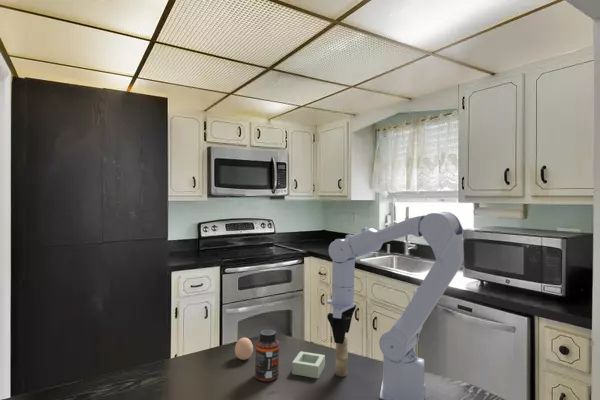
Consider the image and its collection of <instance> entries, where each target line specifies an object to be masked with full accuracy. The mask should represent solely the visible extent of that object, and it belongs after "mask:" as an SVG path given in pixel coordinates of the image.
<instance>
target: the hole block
mask: <svg viewBox="0 0 600 400" xmlns="http://www.w3.org/2000/svg"><path fill="white" fill-rule="evenodd" d="M291 363H292V364H291V374H292V375H297V376H302V377H307V378H311V379H312V378H313V379H319V378H320V376H321V374H322V373H323V370H324V369H325V366H326V355H325V354H321V353H314V352H306V351H302V350H301V351H299V352H298V354H297V355H296V356H295V357H294V360H292V362H291Z"/></svg>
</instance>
